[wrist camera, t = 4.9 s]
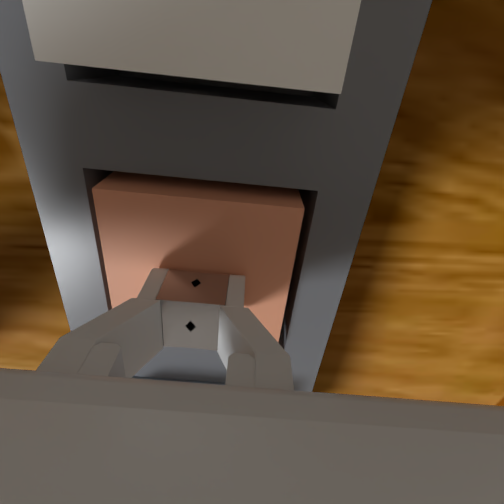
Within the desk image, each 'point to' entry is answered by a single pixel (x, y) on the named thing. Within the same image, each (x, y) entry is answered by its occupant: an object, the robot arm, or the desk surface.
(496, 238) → the desk surface
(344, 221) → the key pad
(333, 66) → the grey key
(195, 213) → the terracotta key
